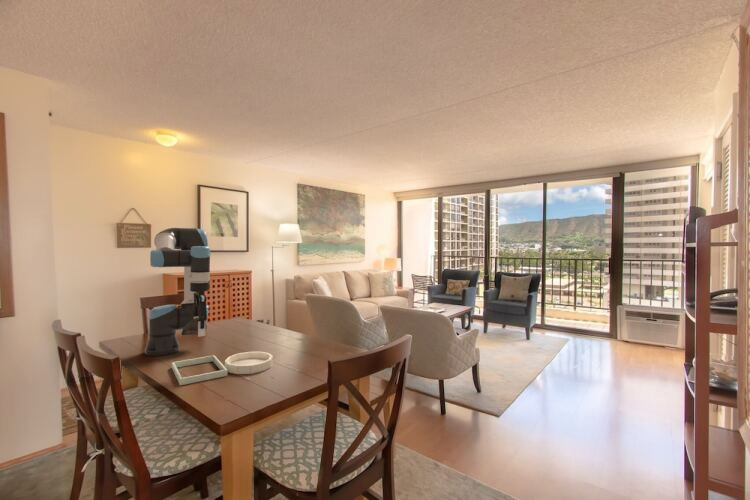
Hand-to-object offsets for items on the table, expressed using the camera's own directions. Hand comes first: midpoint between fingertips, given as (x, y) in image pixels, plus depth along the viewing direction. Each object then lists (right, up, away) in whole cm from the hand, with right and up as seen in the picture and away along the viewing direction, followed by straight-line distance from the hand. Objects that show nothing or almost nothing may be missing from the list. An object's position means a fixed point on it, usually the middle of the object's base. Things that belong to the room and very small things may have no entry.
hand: (199, 333), depth 149 cm
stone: (-2, -1, 0) cm, 2 cm away
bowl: (+19, -17, +8) cm, 26 cm away
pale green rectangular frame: (0, -17, 0) cm, 17 cm away
